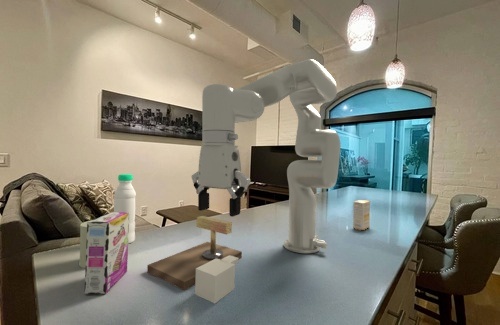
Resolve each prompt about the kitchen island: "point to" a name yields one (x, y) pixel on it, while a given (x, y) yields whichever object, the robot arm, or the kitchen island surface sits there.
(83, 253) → the can
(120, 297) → the kitchen island surface
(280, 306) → the kitchen island surface
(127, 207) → the water bottle
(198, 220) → the t key
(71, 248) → the kitchen island surface
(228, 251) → the panel
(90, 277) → the candy bar box
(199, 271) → the cream stepped block
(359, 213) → the supplement box
